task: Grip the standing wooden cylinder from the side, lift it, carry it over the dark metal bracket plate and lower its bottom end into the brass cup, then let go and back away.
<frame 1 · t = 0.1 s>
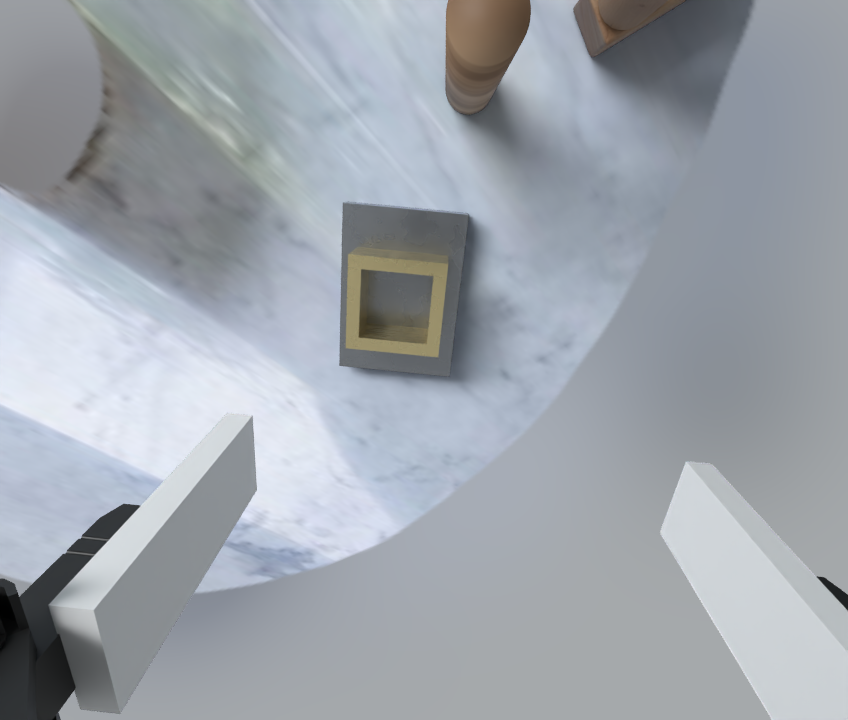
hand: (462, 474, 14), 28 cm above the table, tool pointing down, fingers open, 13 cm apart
wooden cylinder: (469, 87, 34), on the table
cup bracket: (401, 290, 40), on the table
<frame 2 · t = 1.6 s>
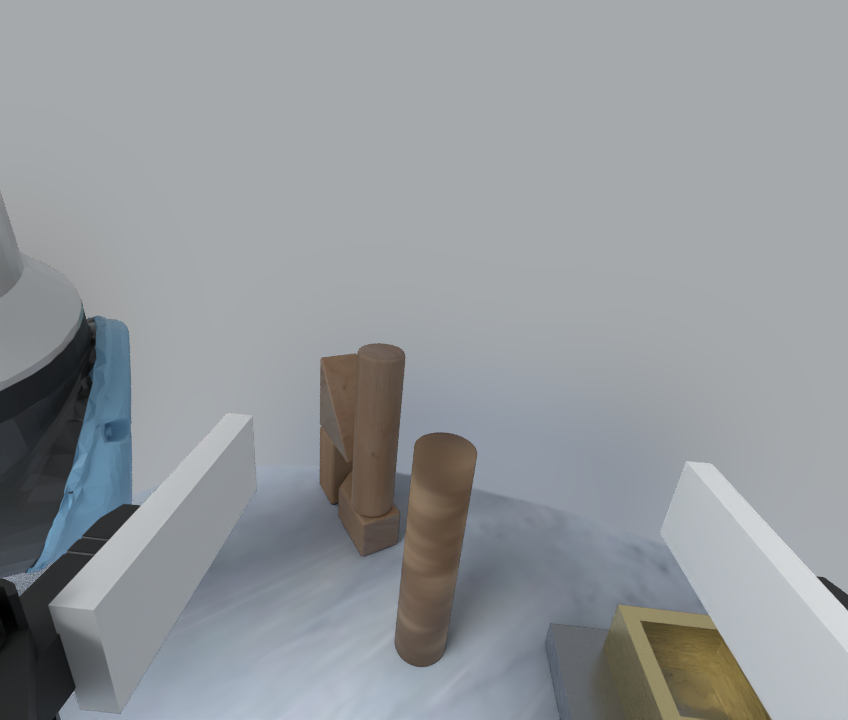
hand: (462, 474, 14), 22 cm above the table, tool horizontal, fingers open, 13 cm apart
wooden cylinder: (420, 641, 32), on the table
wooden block: (355, 514, 43), on the table
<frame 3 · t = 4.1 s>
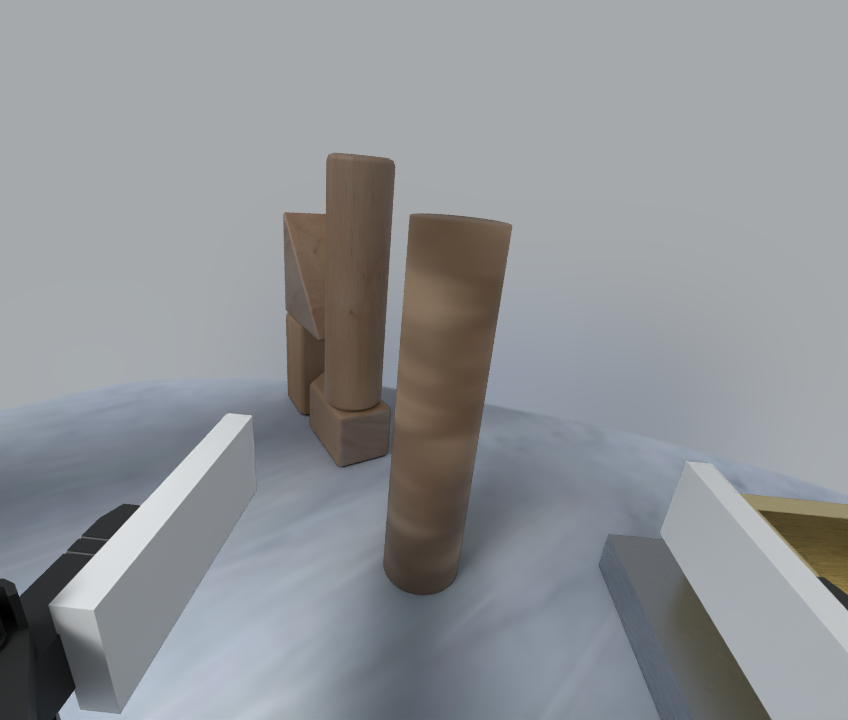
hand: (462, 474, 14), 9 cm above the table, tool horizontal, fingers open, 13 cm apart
wooden cylinder: (420, 562, 22), on the table
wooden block: (332, 426, 33), on the table
cup bracket: (812, 681, 18), on the table
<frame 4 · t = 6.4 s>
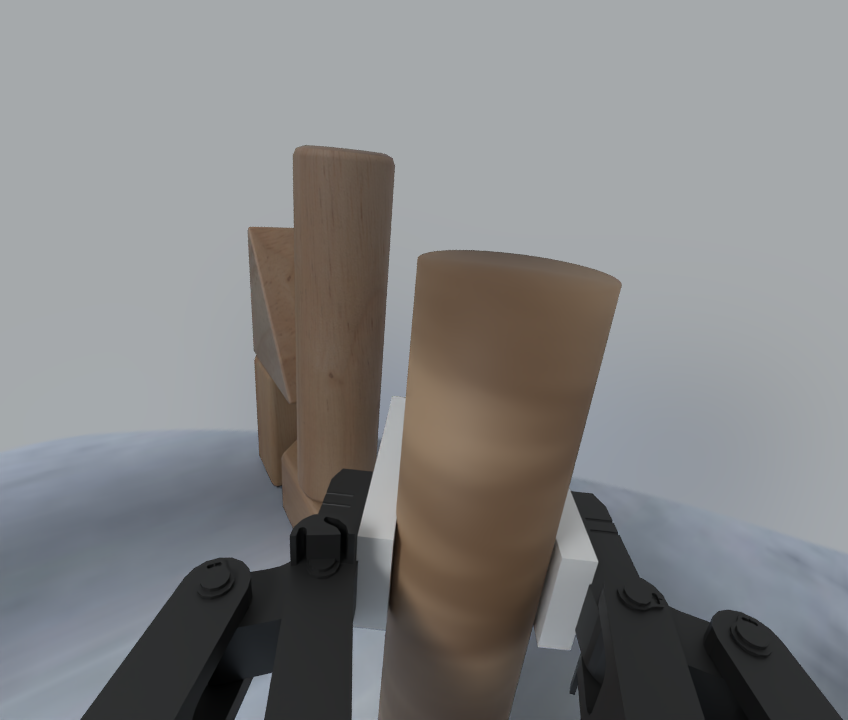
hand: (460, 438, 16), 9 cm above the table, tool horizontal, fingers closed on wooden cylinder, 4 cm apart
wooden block: (313, 503, 25), on the table
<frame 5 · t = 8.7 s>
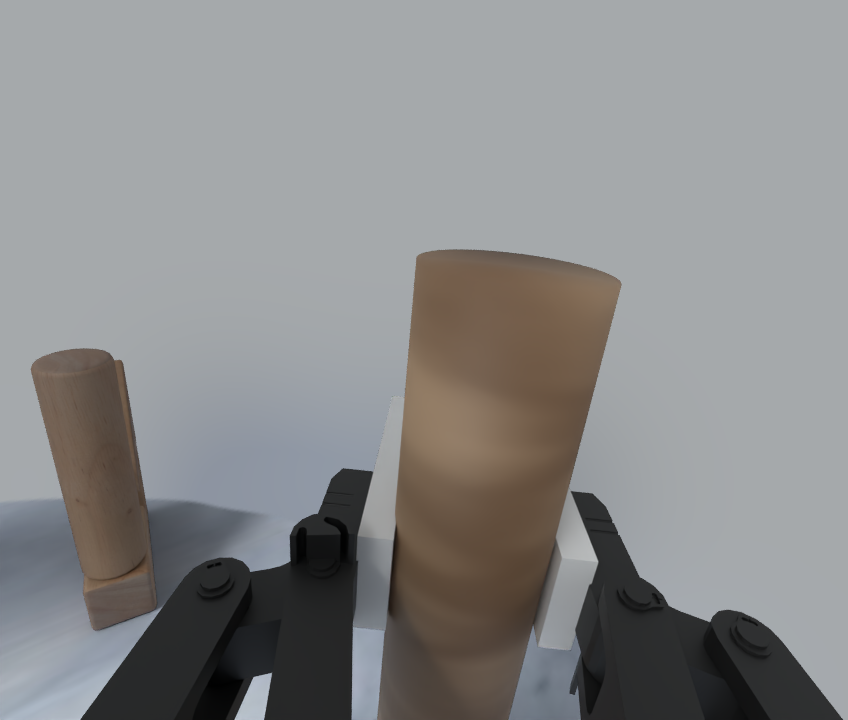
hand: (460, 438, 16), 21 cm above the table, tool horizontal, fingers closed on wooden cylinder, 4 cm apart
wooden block: (124, 566, 34), on the table
when the fingers open (12 cm above the table, at t = 10.9 s): wooden cylinder stays where it is, resting on cup bracket.
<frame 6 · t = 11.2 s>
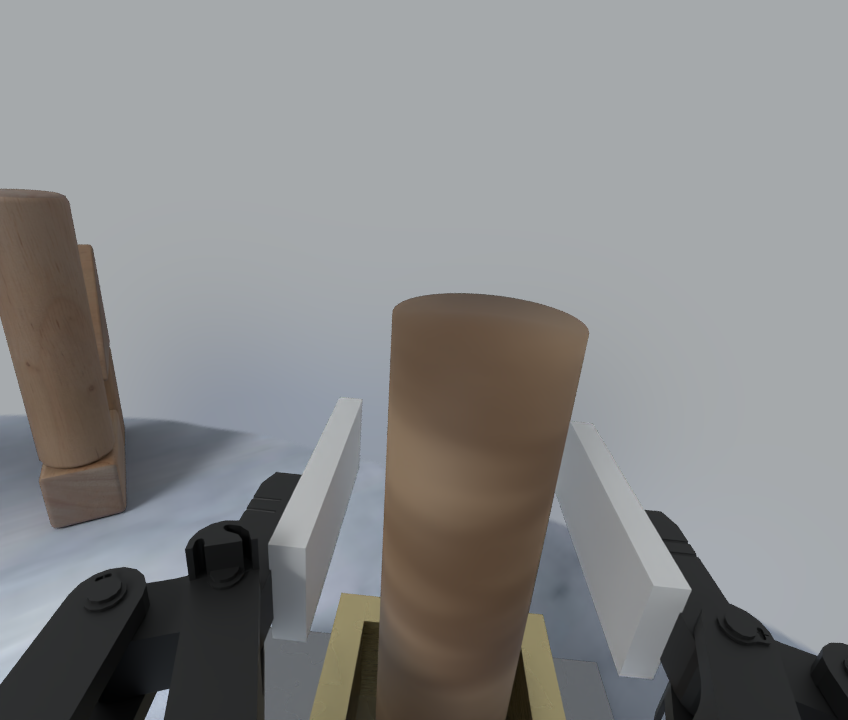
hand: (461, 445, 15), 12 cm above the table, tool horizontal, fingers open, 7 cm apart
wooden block: (94, 474, 30), on the table
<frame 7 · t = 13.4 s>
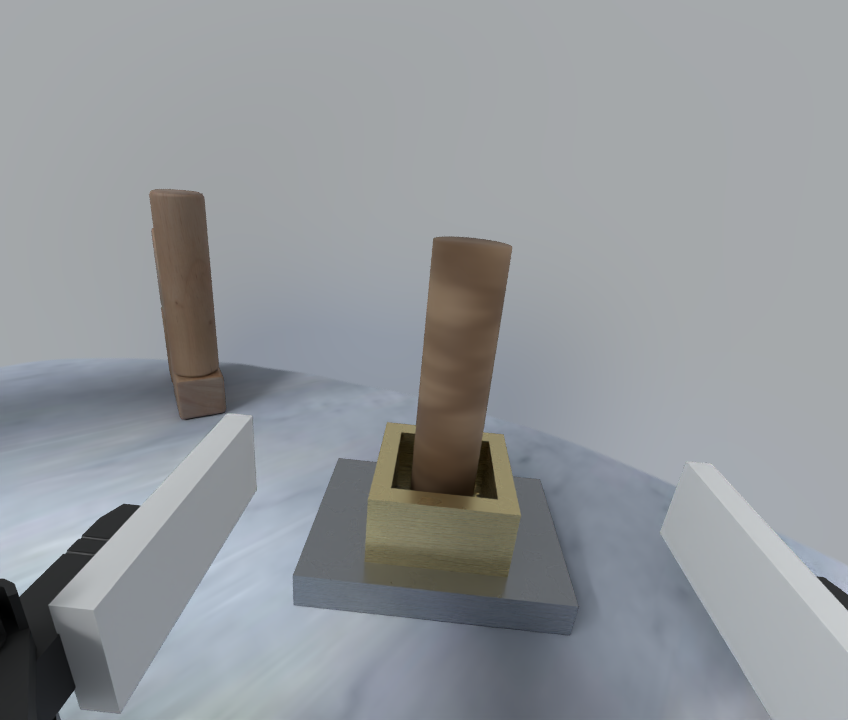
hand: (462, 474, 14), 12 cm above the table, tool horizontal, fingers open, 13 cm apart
wooden cylinder: (437, 520, 27), point 2 cm above the table, touching cup bracket
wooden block: (196, 393, 43), on the table
cup bracket: (434, 545, 27), on the table
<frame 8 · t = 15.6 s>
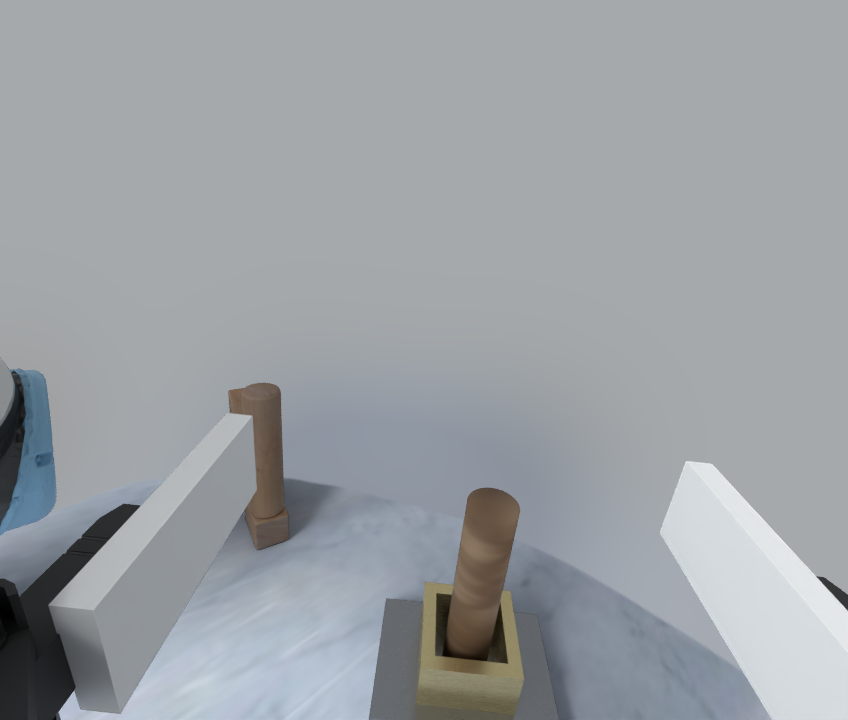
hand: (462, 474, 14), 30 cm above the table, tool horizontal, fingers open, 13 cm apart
wooden cylinder: (463, 660, 37), point 2 cm above the table, touching cup bracket
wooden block: (261, 516, 53), on the table
cup bracket: (460, 676, 38), on the table
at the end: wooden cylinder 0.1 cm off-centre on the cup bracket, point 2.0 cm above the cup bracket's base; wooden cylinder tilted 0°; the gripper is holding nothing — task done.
